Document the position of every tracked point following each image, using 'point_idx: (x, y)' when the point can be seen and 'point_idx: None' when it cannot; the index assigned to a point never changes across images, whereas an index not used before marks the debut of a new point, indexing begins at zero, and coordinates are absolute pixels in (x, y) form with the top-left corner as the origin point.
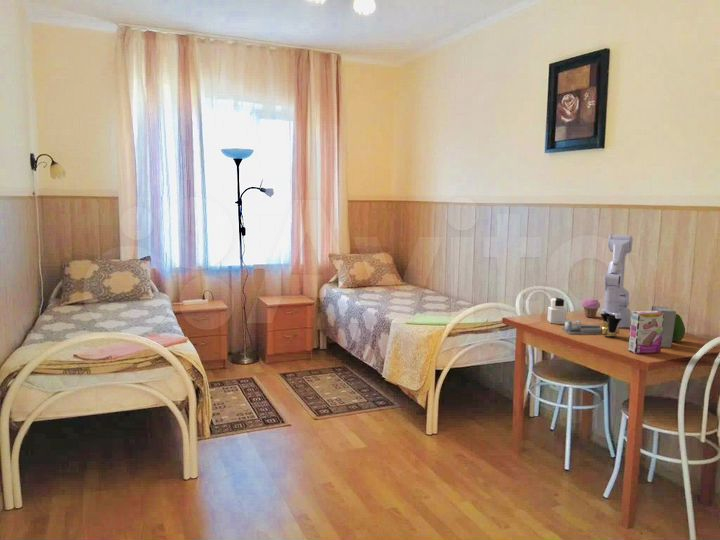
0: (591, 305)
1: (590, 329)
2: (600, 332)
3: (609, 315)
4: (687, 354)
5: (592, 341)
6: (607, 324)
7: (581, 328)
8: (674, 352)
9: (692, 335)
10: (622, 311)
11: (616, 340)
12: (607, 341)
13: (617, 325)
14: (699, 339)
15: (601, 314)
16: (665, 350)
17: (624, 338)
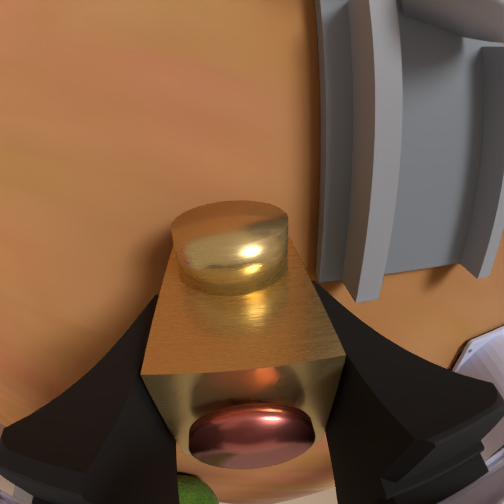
0: None
1: (373, 98)
2: (348, 222)
3: (360, 492)
4: (6, 426)
5: (8, 48)
6: (160, 343)
7: (487, 97)
8: (3, 413)
9: (279, 496)
10: (486, 446)
11: (85, 283)
12: (25, 190)
13: (461, 373)
14: (229, 500)
15: (473, 419)
16: (9, 406)
17: None
